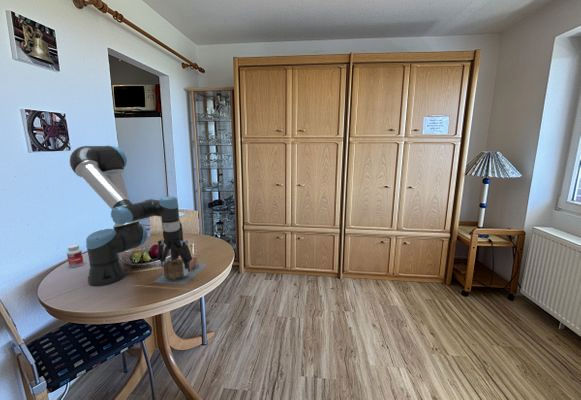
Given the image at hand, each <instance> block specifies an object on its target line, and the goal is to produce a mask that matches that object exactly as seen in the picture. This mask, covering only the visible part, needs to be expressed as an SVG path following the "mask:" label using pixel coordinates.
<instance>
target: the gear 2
mask: <svg viewBox="0 0 581 400" xmlns="http://www.w3.org/2000/svg"><path fill="white" fill-rule="evenodd" d="M190 254H191V257H192V260H191V261H190V262H189V268H188V270H190V271H191V270H192V269H194V268H197V265H198V254H196V253H195V254H194V253H193V252H190ZM177 259H178V260H182V258H181V257H180V256H178V258H177Z"/></svg>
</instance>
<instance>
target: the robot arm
mask: <svg viewBox="0 0 581 400" xmlns="http://www.w3.org/2000/svg"><path fill="white" fill-rule="evenodd" d="M127 162H128V160H127V155H126V154H125V152H124V150H123V149H121V148H120V147H119V146H116V145H115V146H112V145H83V146H79V147H77V148H76V149H74V150H73V152H72V153H71V154H70V157H69V165H70V168H71V169H72V172H74V174H75V175H76V176H77V177H79V178H83V180H84V181H85V182H86V183H87V184H88V185H89V187H90V188H92V190H93V191H94V192H95V193H96V194H97V195H98V196H99V197H100V198H101V199H102V200H103V201H104V203H106V204H107V206H108V207H109V209H111V211H110V217H111V218H112V221H113V223H114V225H113V226H112V227H113V228H104V229H100V230H97V231H94V232H92V233H90V234H89V235H87V237H86V242H85V243H86V246H85V247H86V250H87V255H88V261H89V272H88V276H87V284H88V285H89V286H94V287H97V286H98V287H99V286H106V285H109V284H110V285H111V284H113V283H116V282H118V281H120V280H121V279H123V278H124V277H125V276H126V270H125V268H124V267H123V263H121V261H120V256H119V254H122V253H125V252H127V251H129V250H133V249H136V248H139V247H140V246H142V245H144V244H145V243H146V242H147V239H148V229H147V228H146V226H145V225H144V224H143V223H140V220H144V219H148V218H152V217H160V218H161V219H160V220H161V229H162V230H163V231H162V236H163V237H162V238H163V239H159V240H158V241H157V244H158V247H157V253H156V254H157V255H156V261H160V264H161V266H160V267H161V268H162V269H163V270H162V272H163V273H164V267H163V264H166V263H167V261H168V259H167V257H168V254H169V252H170V249H175V250H176V251H177V252H178V253H179V255H180V257H181V258H182V260H183V263H182V265H183V275H184V276H186V275H187V274H188V268H189V262H190V261H191V260H192V257H191V254H190V253H191V252H190V251H191V250H190V248H189V245H188V240H183V241H182V240H181V232H180V229H179V228H180V222H181V221H179V220H180V213H179V202H178V198H177V197H176V196H174V195H173V196H172V195H171V196H162V197H160V198H159V199H153V198H150V199H144V200H143V201H142V202H136V203H132V201H130V198H129V195H128V194H129V193H128V191H127V187H126V184H125V181H124V177H123V173H124V171H125V167H126V166H127ZM180 244H182V246H183V249H182V246H181V245H180ZM164 245H165V246H164ZM178 247H179V248H178ZM183 250H184V251H183Z"/></svg>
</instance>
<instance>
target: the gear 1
mask: <svg viewBox="0 0 581 400" xmlns="http://www.w3.org/2000/svg"><path fill="white" fill-rule="evenodd" d="M182 263H183V260H178V259H175V260H172V261H171V260H167V263H166V264H163V267H164V272H163V274H164V276H166V279H173V280H174V279H176V278H179V277H181V278H182V277H184V276H183V265H182Z"/></svg>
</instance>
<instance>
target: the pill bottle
mask: <svg viewBox="0 0 581 400" xmlns="http://www.w3.org/2000/svg"><path fill="white" fill-rule="evenodd" d="M82 251H83V250H82V249H81V248H80V245H79V244H72V245H69V246H67V252H66V255H67V256H66V257H67V261H68V266H69V267H70V268H77V267H81V266H83V265H84V258H83V252H82Z"/></svg>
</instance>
